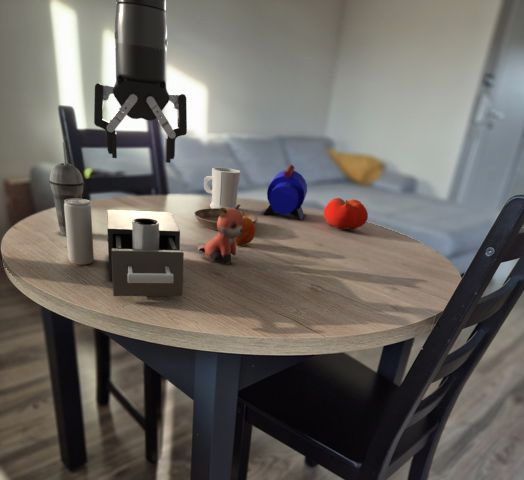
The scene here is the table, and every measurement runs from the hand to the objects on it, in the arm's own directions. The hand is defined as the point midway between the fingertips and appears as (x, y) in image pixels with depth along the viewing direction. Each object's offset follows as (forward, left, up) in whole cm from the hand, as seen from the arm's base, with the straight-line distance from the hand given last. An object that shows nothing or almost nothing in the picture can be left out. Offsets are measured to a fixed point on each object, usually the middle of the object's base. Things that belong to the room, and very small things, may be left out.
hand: (141, 159), depth 79 cm
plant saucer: (+26, +46, -22) cm, 57 cm away
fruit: (+26, +28, -22) cm, 44 cm away
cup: (+29, +67, -22) cm, 76 cm away
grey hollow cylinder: (+1, -2, -20) cm, 20 cm away
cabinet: (+1, +9, -22) cm, 24 cm away
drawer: (+1, -4, -21) cm, 21 cm away
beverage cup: (-14, +33, -22) cm, 42 cm away
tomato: (+63, +48, -22) cm, 82 cm away
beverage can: (-11, +13, -22) cm, 28 cm away
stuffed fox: (+18, +17, -22) cm, 33 cm away
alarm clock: (+49, +63, -22) cm, 83 cm away
